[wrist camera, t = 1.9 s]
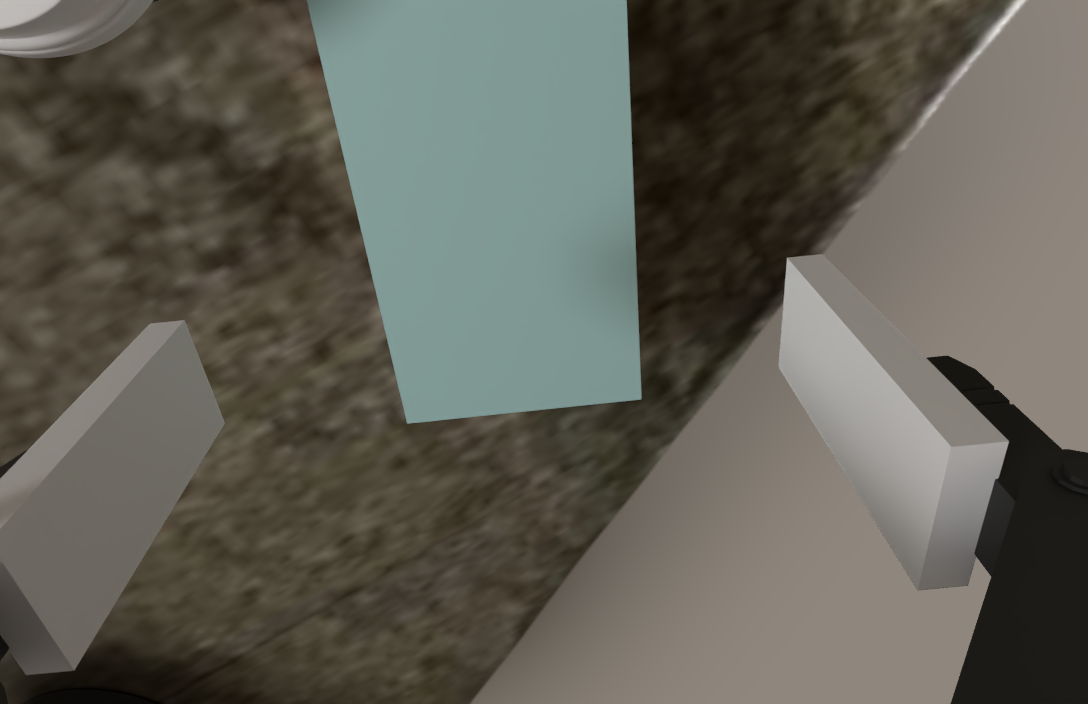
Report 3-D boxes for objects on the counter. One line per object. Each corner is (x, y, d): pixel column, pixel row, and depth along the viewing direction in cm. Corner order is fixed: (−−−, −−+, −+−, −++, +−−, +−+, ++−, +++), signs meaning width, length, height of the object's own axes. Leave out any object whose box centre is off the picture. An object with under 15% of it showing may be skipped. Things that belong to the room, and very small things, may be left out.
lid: (416, 384, 32) (407, 423, 29) (313, -75, 23) (288, -77, 20) (630, 361, 32) (641, 399, 29) (609, -109, 23) (622, -116, 20)
